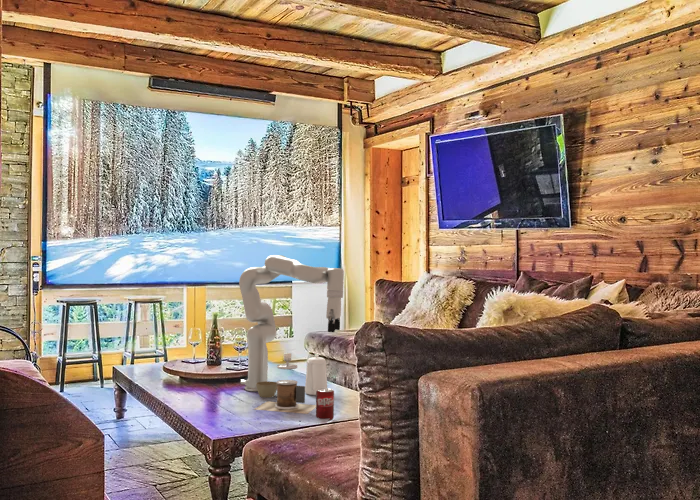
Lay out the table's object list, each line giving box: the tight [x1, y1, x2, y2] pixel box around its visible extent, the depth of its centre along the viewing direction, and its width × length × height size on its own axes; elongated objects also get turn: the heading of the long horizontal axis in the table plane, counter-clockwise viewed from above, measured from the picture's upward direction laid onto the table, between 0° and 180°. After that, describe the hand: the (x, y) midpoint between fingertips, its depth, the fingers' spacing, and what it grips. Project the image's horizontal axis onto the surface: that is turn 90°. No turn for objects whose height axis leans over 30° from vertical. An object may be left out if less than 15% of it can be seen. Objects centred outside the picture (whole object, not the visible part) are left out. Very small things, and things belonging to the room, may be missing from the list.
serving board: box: [253, 400, 316, 415], centre depth 284 cm, size 24×16×1 cm, turn 76°
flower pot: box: [256, 380, 277, 399], centre depth 305 cm, size 10×10×7 cm
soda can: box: [315, 387, 335, 422], centre depth 269 cm, size 7×7×12 cm
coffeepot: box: [304, 353, 328, 396], centre depth 318 cm, size 11×25×19 cm, turn 168°
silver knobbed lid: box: [276, 352, 298, 370], centre depth 284 cm, size 9×9×6 cm
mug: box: [275, 379, 306, 410], centre depth 283 cm, size 13×10×11 cm
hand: (333, 330), depth 310 cm, fingers open, 9 cm apart
